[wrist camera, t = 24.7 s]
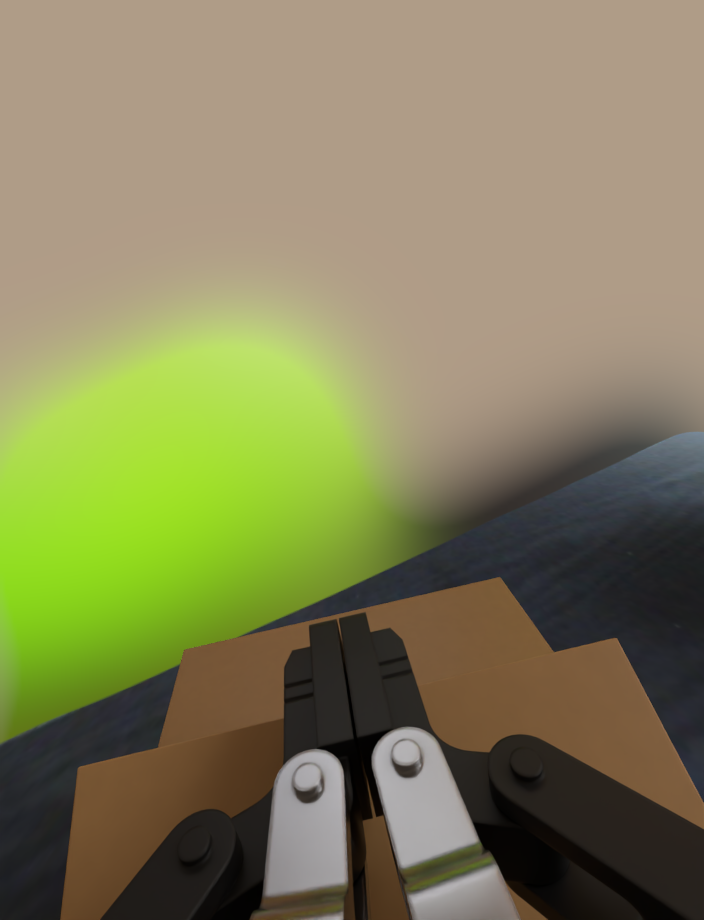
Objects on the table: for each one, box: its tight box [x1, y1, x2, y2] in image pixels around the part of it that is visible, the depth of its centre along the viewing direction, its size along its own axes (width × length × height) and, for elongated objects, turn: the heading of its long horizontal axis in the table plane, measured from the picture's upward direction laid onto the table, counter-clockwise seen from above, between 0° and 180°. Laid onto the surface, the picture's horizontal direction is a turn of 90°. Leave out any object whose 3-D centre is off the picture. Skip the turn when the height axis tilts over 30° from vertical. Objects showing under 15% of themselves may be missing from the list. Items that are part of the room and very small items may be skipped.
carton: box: [158, 577, 554, 748], centre depth 17 cm, size 14×14×11 cm
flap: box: [60, 638, 704, 920], centre depth 11 cm, size 14×7×1 cm
